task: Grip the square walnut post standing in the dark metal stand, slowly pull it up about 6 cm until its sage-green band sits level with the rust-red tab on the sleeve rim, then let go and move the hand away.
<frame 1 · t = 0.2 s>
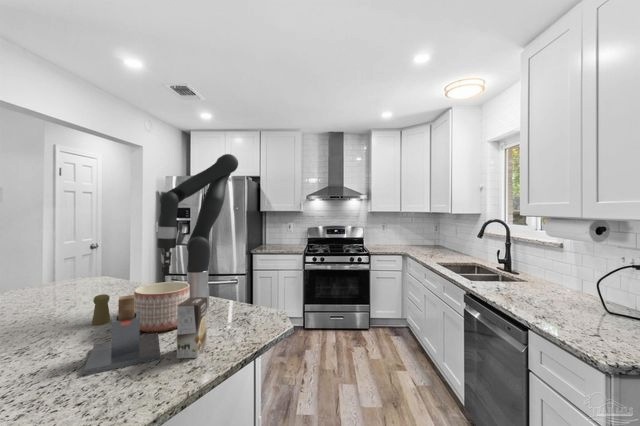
hand: (165, 273, 126), 17 cm above the countertop, tool pointing down, fingers open, 8 cm apart
coffee box: (192, 352, 91), on the countertop
stand base: (126, 353, 89), on the countertop
planter: (162, 325, 113), on the countertop
cork: (101, 322, 115), on the countertop
stand post: (126, 322, 89), point 10 cm above the countertop, slide at 0.0 cm
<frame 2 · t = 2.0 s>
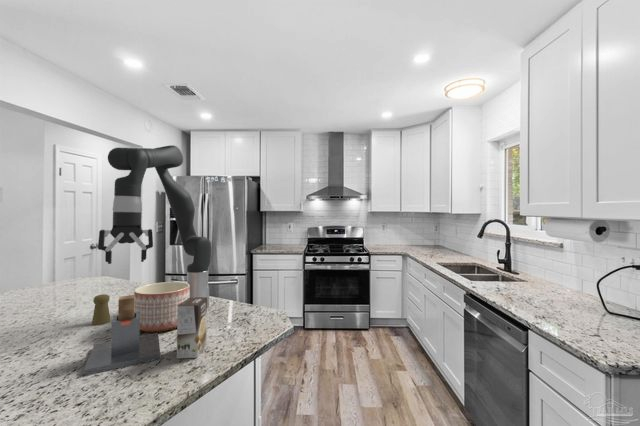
hand: (126, 262, 90), 28 cm above the countertop, tool pointing down, fingers open, 8 cm apart
nothing on the countertop moved.
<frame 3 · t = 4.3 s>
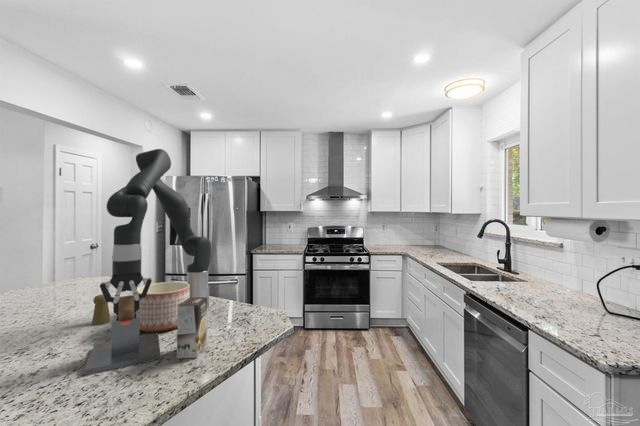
hand: (126, 312, 89), 13 cm above the countertop, tool pointing down, fingers closed on stand post, 4 cm apart
stand post: (126, 322, 89), point 10 cm above the countertop, slide at 0.0 cm, touching gripper
everything else where it was.
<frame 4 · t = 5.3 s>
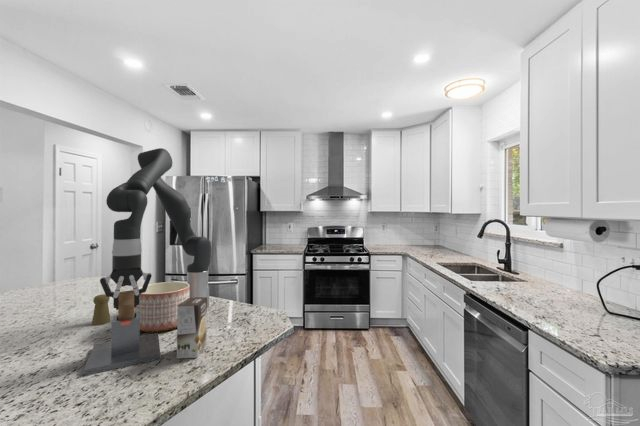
hand: (126, 307, 89), 14 cm above the countertop, tool pointing down, fingers closed on stand post, 4 cm apart
stand post: (126, 317, 89), point 11 cm above the countertop, slide at 1.6 cm, touching gripper
everything else where it was.
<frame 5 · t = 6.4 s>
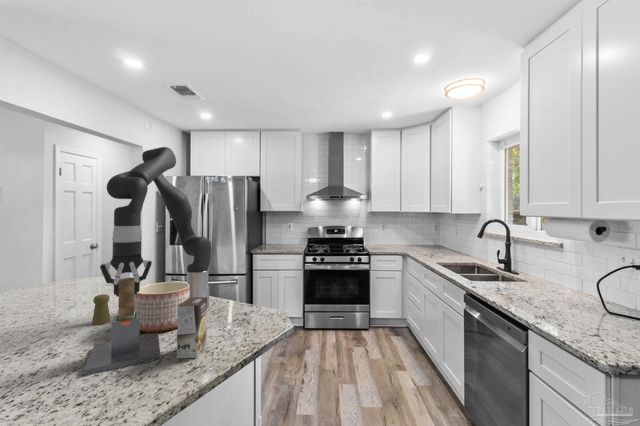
hand: (126, 294, 90), 18 cm above the countertop, tool pointing down, fingers closed on stand post, 4 cm apart
stand post: (126, 304, 90), point 15 cm above the countertop, slide at 5.7 cm, touching gripper
everything else where it was.
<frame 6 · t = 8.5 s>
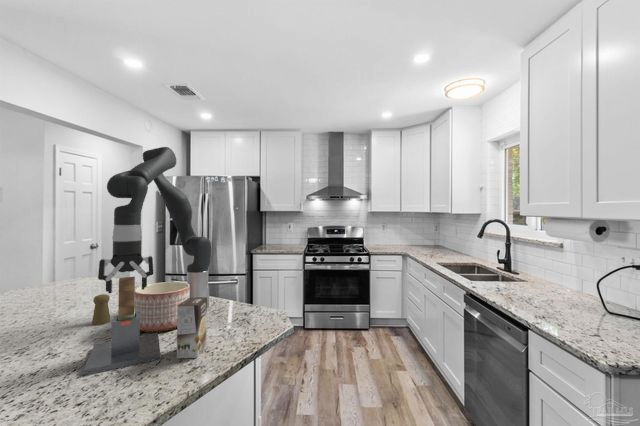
hand: (126, 290, 90), 20 cm above the countertop, tool pointing down, fingers open, 8 cm apart
stand post: (126, 303, 90), point 16 cm above the countertop, slide at 5.9 cm
everything else where it was.
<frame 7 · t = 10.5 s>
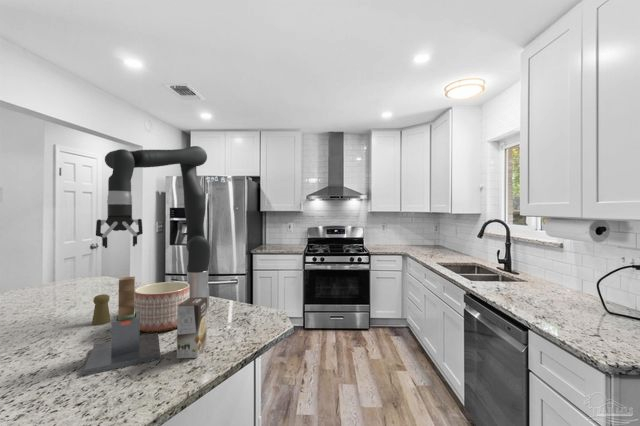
hand: (120, 246, 107), 31 cm above the countertop, tool pointing down, fingers open, 8 cm apart
nothing on the countertop moved.
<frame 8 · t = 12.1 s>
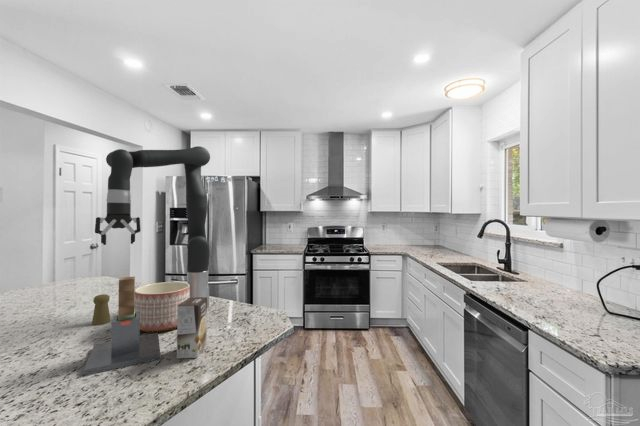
hand: (118, 244, 110), 32 cm above the countertop, tool pointing down, fingers open, 8 cm apart
nothing on the countertop moved.
at the end: stand post slide at 5.9 cm; the gripper is holding nothing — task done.
